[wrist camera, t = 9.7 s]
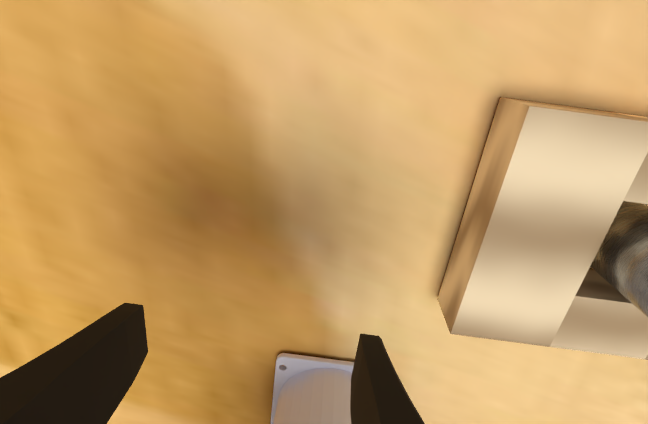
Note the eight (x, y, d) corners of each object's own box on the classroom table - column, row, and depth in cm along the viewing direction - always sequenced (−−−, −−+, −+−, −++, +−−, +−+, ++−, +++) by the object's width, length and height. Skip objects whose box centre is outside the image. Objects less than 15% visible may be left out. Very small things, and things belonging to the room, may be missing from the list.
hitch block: (694, 332, 22) (743, 372, 20) (437, 298, 22) (450, 333, 20) (829, 141, 17) (920, 158, 15) (500, 97, 17) (529, 106, 15)
